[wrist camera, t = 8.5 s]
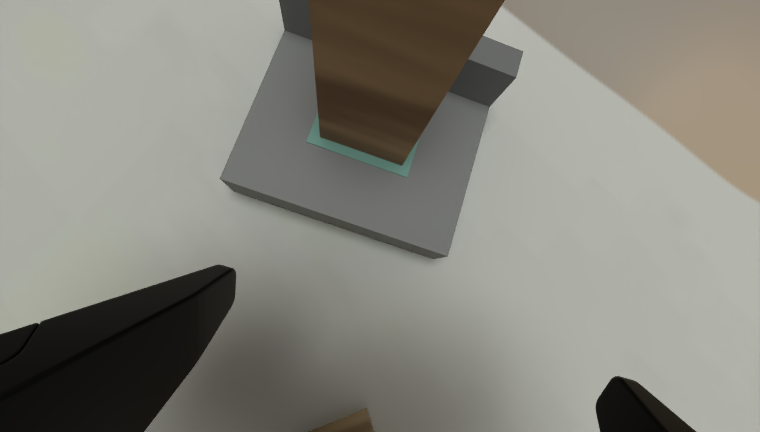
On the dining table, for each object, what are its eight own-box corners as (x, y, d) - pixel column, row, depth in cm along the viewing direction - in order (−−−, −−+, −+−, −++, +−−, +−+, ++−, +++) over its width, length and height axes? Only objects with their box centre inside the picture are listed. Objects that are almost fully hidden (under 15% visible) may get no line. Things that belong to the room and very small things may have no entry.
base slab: (433, 258, 21) (469, 251, 15) (233, 190, 20) (197, 158, 15) (484, 82, 23) (530, 23, 18) (307, 15, 22) (300, -68, 17)
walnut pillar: (402, 165, 19) (533, -47, 6) (319, 137, 18) (296, -145, 6) (425, 92, 20) (579, -216, 7) (347, 63, 19) (375, -308, 7)
